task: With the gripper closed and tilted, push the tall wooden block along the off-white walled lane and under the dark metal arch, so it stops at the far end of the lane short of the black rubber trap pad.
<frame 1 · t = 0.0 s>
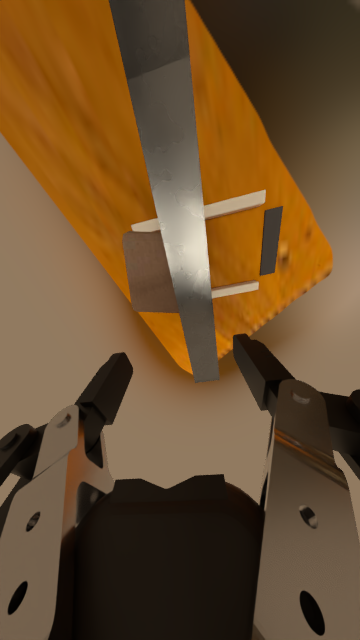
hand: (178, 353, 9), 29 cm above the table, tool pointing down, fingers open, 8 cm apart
arch: (184, 263, 33), on the table
trap pad: (269, 244, 31), on the table
walled lane: (199, 260, 33), on the table
wooden block: (173, 265, 34), on the table
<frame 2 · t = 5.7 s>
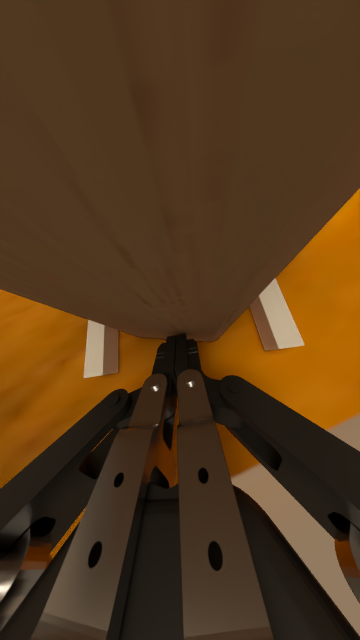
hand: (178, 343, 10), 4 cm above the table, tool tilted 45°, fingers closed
walled lane: (171, 259, 18), on the table
wooden block: (178, 301, 16), on the table, touching gripper
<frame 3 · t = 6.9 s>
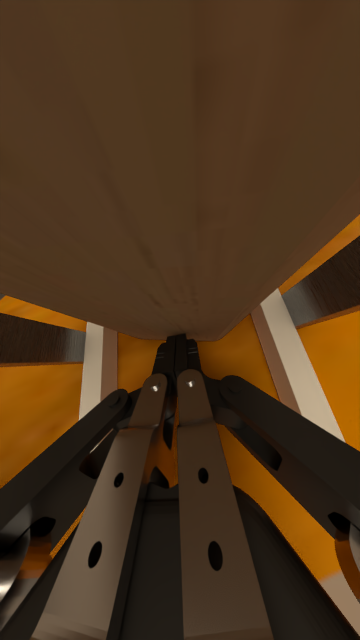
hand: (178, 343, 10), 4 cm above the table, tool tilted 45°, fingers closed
arch: (181, 334, 15), on the table
walled lane: (177, 303, 16), on the table
wooden block: (179, 301, 16), on the table, touching gripper
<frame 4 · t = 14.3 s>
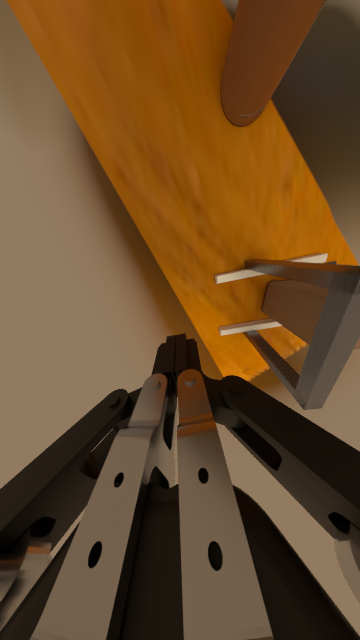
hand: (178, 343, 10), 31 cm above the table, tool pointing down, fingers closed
arch: (248, 300, 41), on the table
walled lane: (261, 298, 40), on the table
wooden block: (279, 295, 40), on the table
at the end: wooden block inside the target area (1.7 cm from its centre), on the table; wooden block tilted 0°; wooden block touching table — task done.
